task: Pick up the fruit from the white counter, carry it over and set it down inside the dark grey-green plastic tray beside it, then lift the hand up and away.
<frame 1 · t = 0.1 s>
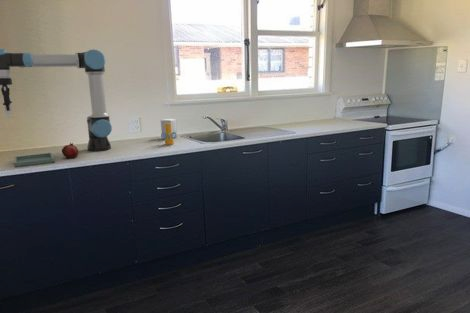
hand: (9, 115, 211), 28 cm above the worktop, tool pointing down, fingers open, 13 cm apart
supplement box: (169, 138, 289), on the worktop
fruit: (71, 158, 228), on the worktop
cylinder: (169, 144, 265), on the worktop
tray: (34, 161, 220), on the worktop
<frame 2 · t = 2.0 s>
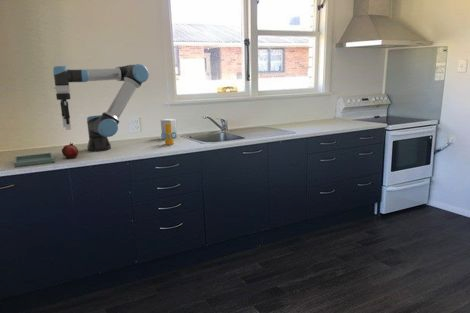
hand: (67, 128, 223), 18 cm above the worktop, tool pointing down, fingers open, 13 cm apart
nothing on the worktop moved.
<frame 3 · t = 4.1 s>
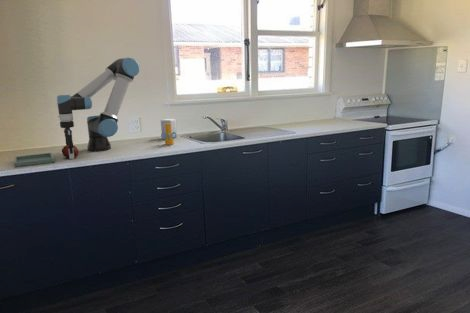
hand: (71, 157, 227), 0 cm above the worktop, tool pointing down, fingers closed on fruit, 9 cm apart
fruit: (71, 158, 228), on the worktop, touching gripper
everything else where it was.
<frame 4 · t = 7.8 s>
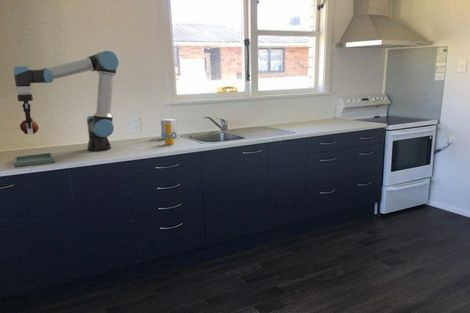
hand: (30, 132, 216), 17 cm above the worktop, tool pointing down, fingers closed on fruit, 9 cm apart
fruit: (30, 134, 216), point 17 cm above the worktop, touching gripper
everything else where it was.
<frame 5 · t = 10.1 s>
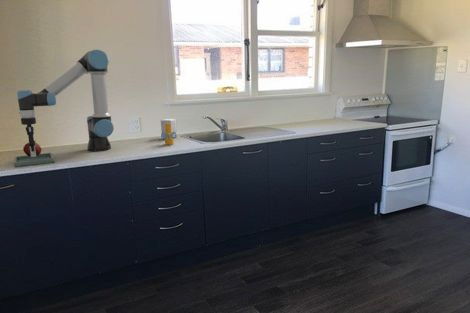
hand: (33, 155, 219), 4 cm above the worktop, tool pointing down, fingers closed on fruit, 9 cm apart
fruit: (33, 156, 219), point 3 cm above the worktop, touching gripper
everything else where it was.
when the fingers open (3 cm above the worktop, at t = 11.3 s): fruit drops 2 cm, resting on tray.
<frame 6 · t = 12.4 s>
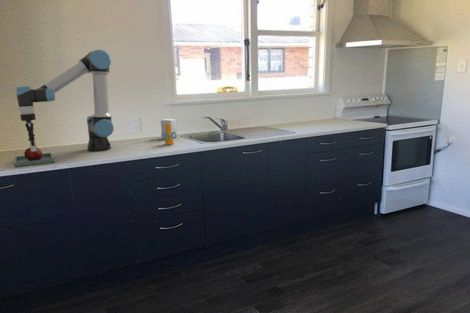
hand: (33, 149, 218), 7 cm above the worktop, tool pointing down, fingers open, 13 cm apart
fruit: (34, 161, 219), resting on tray
everything else where it was.
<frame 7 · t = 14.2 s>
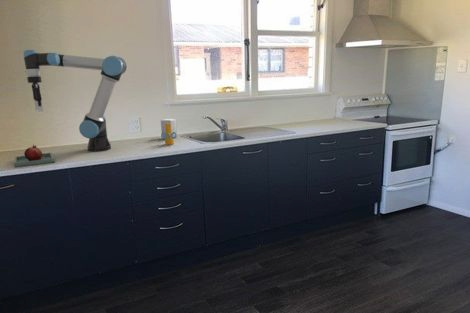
hand: (39, 110, 231), 28 cm above the worktop, tool pointing down, fingers open, 13 cm apart
nothing on the worktop moved.
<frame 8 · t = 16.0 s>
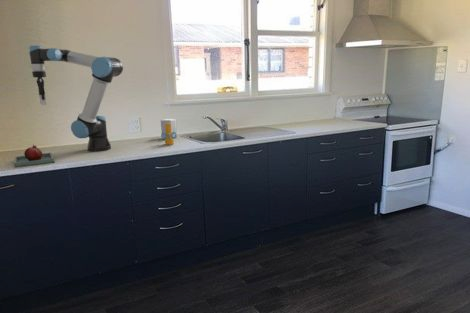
hand: (43, 104, 239), 32 cm above the worktop, tool pointing down, fingers open, 13 cm apart
nothing on the worktop moved.
at the end: fruit inside the target area on the tray (0.2 cm from its centre), point 0.4 cm above the tray's base; the gripper is holding nothing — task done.
